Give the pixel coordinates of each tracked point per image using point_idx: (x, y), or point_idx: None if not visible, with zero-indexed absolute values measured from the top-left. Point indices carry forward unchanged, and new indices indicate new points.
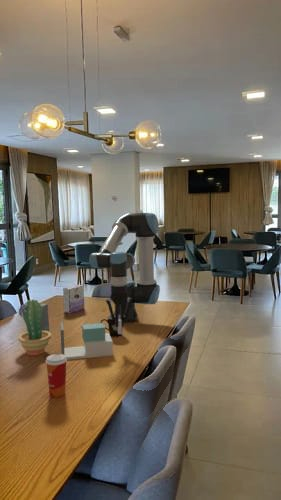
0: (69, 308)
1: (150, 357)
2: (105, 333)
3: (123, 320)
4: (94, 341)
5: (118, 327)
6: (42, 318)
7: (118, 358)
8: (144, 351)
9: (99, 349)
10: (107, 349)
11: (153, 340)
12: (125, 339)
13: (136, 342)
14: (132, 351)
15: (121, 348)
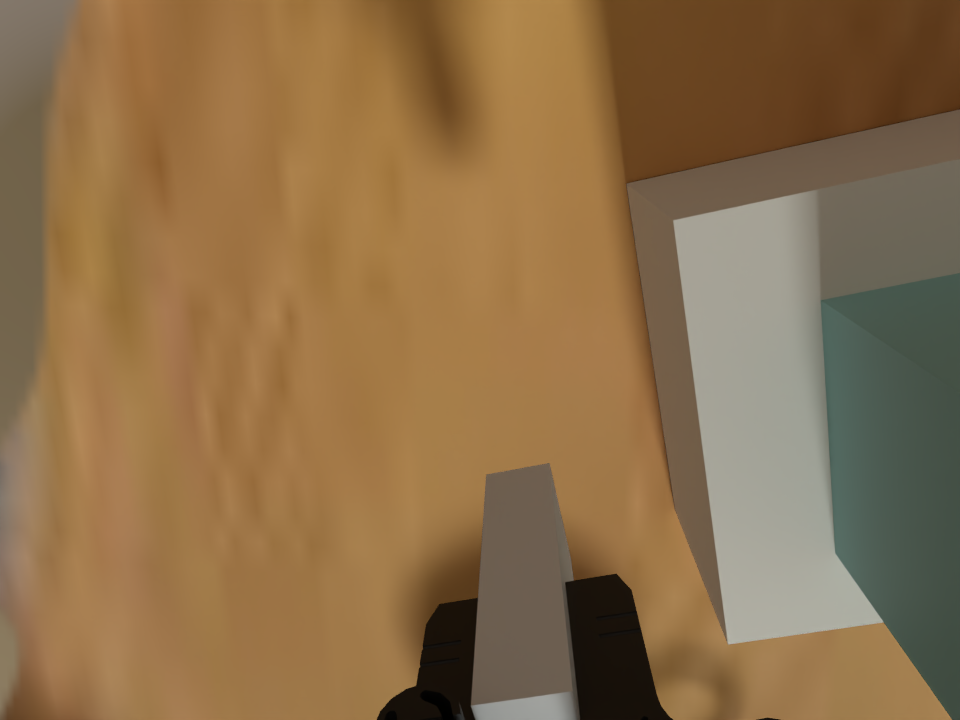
0: None
1: (58, 70)
2: (785, 625)
3: (402, 695)
4: None
5: (560, 559)
6: None
7: (540, 47)
8: (178, 304)
9: (889, 146)
10: (736, 176)
11: (114, 642)
12: None
13: (316, 599)
14: (345, 312)
15: (502, 424)
